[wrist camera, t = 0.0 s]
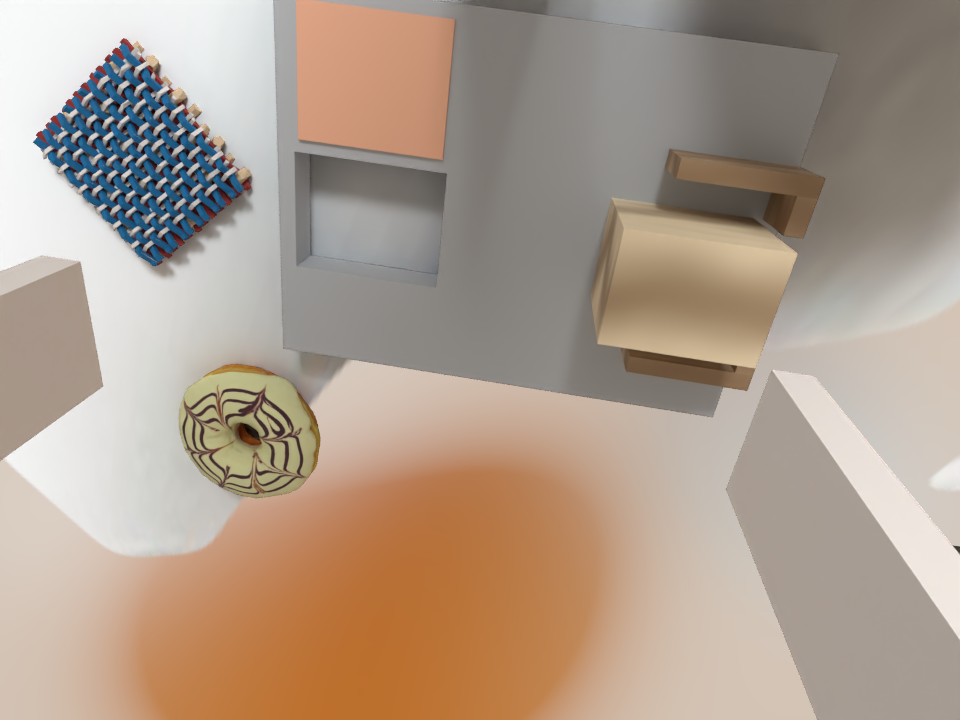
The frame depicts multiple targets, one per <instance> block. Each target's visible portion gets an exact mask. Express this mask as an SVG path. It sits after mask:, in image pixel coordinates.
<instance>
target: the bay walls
mask: <svg viewBox="0 0 960 720" xmlns="http://www.w3.org/2000/svg"><path fill="white" fill-rule="evenodd" d="M665 168H666V169H667V170H668V171H669V172H670V173H671V174H672V175H673V176H674V177H675V178H676V179H680V180H687V181H694V182H701V183H708V184H715V185H722V186H729V187H736V188H743V189H750V190H757V191H764V192H771V196H770V199H769V202H768V205H767V208H766V211H765V214H764V217H763V220H764V221H765V222H766V223H768V224H769V225H770V226H772V227H773V228H774V229H775V230H777V231H778V232H779V233H781V234H782V235H783V236H789V237H796V238H804V235H805V233H806V230H807V227H808V224H809V222H810V219H811V216H812V214H813V211H814V208H815V205H816V203H817V200H818V197H819V195H820V192H821V189H822V187H823V184H824V181H825V178H823V177H821V176H818V175H816V174H814V173H812V172H809V171H807V170H805V169H803V168H800V167H795V166H788V165H781V164H774V163H767V162H759V161H752V160H745V159H738V158H731V157H724V156H717V155H710V154H703V153H696V152H689V151H682V150H674V149H669V153H668V157H667V161H666V165H665ZM620 348H621V347H620ZM621 352H622V357H623V361H624V366H625V370H626V372H631V373H638V374H644V375H650V376H657V377H663V378H669V379H676V380H682V381H688V382H695V383H701V384H707V385H714V386H720V387H727V388H733V389H739V390H745V391H747V389H748V387H749V384H750V381H751V379H752V376H753V373H754V371H755V368H749V367H743V366H736V365H730V364H724V363H717V362H711V361H704V360H698V359H692V358H685V357H679V356H672V355H666V354H660V353H653V352H647V351H640V350H634V349H628V348H621Z"/></svg>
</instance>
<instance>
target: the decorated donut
mask: <svg viewBox="0 0 960 720" xmlns="http://www.w3.org/2000/svg"><path fill="white" fill-rule="evenodd" d="M243 423H245V424H248V425H250V426H252V427H253V428H254V429H256V430H257V431H258V433H259V437H260V439H257V438H254V437H252V436H251V435H250V434H248V433H247V431H246V430H245V427H244V425H243ZM179 429H180V435H181V438H182V442H183V446H184V448H185V451H186V452H187V453H188V455H189V456H190V458H191V460H192V461H193V462H194V464H195V465H196V466H197V467H198V469H199V470H200V472H201V473H202V474H203V475H204V476H206V477H207V478H208V479H209V480H210V481H212V482H214V483H216V484H217V485H219V486H220V487H222V488H224V489H225V490H228V491H231V492H233V493H236V494H238V495H241V496H247V497H254V498H263V497H270V496H275V495H282V494H287V493H290V492H292V491H294V490H296V489H298V488H299V487H300V486H301V485H302V484H303V483H304V482H305V481H306V479H307V478H308V477H309V476H310V474H311V473H312V472H313V470H314V469H315V467H316V465H317V460H318V452H319V447H320V434H319V429H318V424H317V421H316V418H315V416H314V413H313V411H312V410H311V409H310V407H309V406H308V405H307V403H306V402H305V401H304V400H303V398H302V397H301V396H300V394H299V393H298V392H297V390H296V388H295V387H294V386H293V384H292V383H290V382H289V381H288V380H287V379H285V378H283V377H279V376H277V375H275V374H273V373H271V372H269V371H266V370H264V369H261V368H259V367H254V366H247V365H240V364H231V365H226V366H223V367H221V368H219V369H217V370H215V371H213V372H210V373H209V374H207V375H206V376H204V377H203V378H202V379H200V380H199V381H197V382H196V383H195V384H193V385H191V386H189V387H188V388H187V390H186V392H185V395H184V398H183V401H182V403H181V406H180V411H179Z"/></svg>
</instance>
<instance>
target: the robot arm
mask: <svg viewBox="0 0 960 720" xmlns="http://www.w3.org/2000/svg"><path fill="white" fill-rule="evenodd" d="M101 387H103V382H102V377H101V371H100V366H99V360H98V355H97V350H96V344H95V339H94V333H93V328H92V322H91V317H90V312H89V306H88V301H87V295H86V290H85V284H84V279H83V274H82V268H81V263H80V261H73V260H67V259H60V258H54V257H48V256H40V257H37V258H35V259H32V260H29V261H27V262H24V263H22V264H19V265H16V266H14V267H11V268H9V269H6V270H3V271H1V272H0V461H1V460H2V459H3V458H5V457H6V456H8V455H9V454H10V453H12V452H13V451H14V450H16V449H17V448H19V447H20V446H21V445H23V444H24V443H26V442H27V441H28V440H30V439H31V438H32V437H34V436H35V435H37V434H38V433H39V432H41V431H42V430H43V429H45V428H46V427H48V426H49V425H50V424H52V423H53V422H55V421H56V420H57V419H59V418H60V417H61V416H63V415H64V414H66V413H67V412H68V411H70V410H71V409H72V408H74V407H75V406H77V405H78V404H79V403H81V402H82V401H83V400H85V399H86V398H88V397H89V396H90V395H92V394H93V393H95V392H96V391H97V390H99V389H100V388H101ZM726 491H727V493H728V496H729V498H730V500H731V503H732V505H733V508H734V511H735V513H736V516H737V518H738V521H739V523H740V526H741V528H742V531H743V533H744V536H745V539H746V541H747V544H748V546H749V548H750V551H751V554H752V556H753V559H754V561H755V564H756V566H757V569H758V571H759V574H760V576H761V579H762V581H763V584H764V586H765V589H766V591H767V594H768V596H769V599H770V602H771V604H772V607H773V609H774V612H775V614H776V617H777V619H778V622H779V624H780V627H781V629H782V632H783V634H784V637H785V639H786V642H787V645H788V647H789V650H790V652H791V655H792V657H793V660H794V662H795V665H796V667H797V670H798V672H799V675H800V677H801V680H802V682H803V685H804V687H805V690H806V693H807V695H808V698H809V700H810V703H811V705H812V708H813V710H814V713H815V715H816V718H817V720H960V547H959V546H953V545H952V544H951V543H950V542H949V541H948V539H947V538H946V537H945V536H944V535H943V533H942V532H941V531H940V530H939V528H938V527H937V526H936V525H935V524H934V522H933V521H932V520H931V519H930V517H929V516H928V515H927V514H926V512H925V511H924V510H923V509H922V508H921V506H920V505H919V504H918V503H917V502H916V500H915V499H914V498H913V497H912V495H911V494H910V493H909V492H908V490H907V489H906V488H905V487H904V486H903V484H902V483H901V482H900V481H899V479H898V478H897V477H896V476H895V475H894V473H893V472H892V471H891V470H890V468H889V467H888V466H887V465H886V464H885V462H884V461H883V460H882V459H881V457H880V456H879V455H878V454H877V452H876V451H875V450H874V449H873V448H872V446H871V445H870V444H869V443H868V442H867V440H866V439H865V438H864V436H863V435H862V434H861V433H860V432H859V430H858V429H857V428H856V427H855V426H854V424H853V423H852V422H851V421H850V419H849V418H848V417H847V416H846V414H845V413H844V412H843V411H842V409H841V408H840V407H839V406H838V405H837V403H836V402H835V401H834V400H833V398H832V397H831V396H830V395H829V394H828V392H827V391H826V390H825V389H824V387H823V386H822V385H821V384H820V383H819V381H818V380H817V379H816V378H815V377H814V376H810V375H803V374H797V373H790V372H784V371H777V370H772V371H771V373H770V376H769V378H768V381H767V383H766V386H765V389H764V391H763V394H762V396H761V399H760V402H759V404H758V408H757V409H756V412H755V415H754V417H753V420H752V423H751V425H750V428H749V430H748V433H747V436H746V438H745V441H744V444H743V446H742V449H741V451H740V454H739V456H738V459H737V462H736V464H735V467H734V470H733V472H732V475H731V477H730V480H729V482H728V485H727V488H726Z"/></svg>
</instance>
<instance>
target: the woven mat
mask: <svg viewBox="0 0 960 720" xmlns="http://www.w3.org/2000/svg"><path fill="white" fill-rule="evenodd" d="M120 43H121V44H122V45H121V46H120V47H119V48H120V49H119V48H115V49H114V50H113V51H112V52H113V55H112V56H111V55H108V56H107V57H106V58H105V61H106V62H105V63H104V64H103V67H104V68H103V67H102V66H98V67H97V68H96V72H95V73H94V74H93V73H91V74H90V76H89V77H90V78H91V79H90V80H89V81H88V82H87V83H83V84H82V85H81V86H80V87H81V88H80V89H79V90H78V91H75V92H74V94H73V96H74V97H73V98H72V99H68V100H67V101H66V105H65V106H64V107H63V109H62V112H63V114H62V113H59V114H58V115H57V116H53V117H52V118H51V121H52V122H51V123H49V122H48V123H47V124H46V127H47V129H48V130H47V129H44V130H43V131H40V132H38V133H37V134H36V136H37V138H36V139H35V141H34V142H33V143H35V144H36V145H37V146H38V147H40V148H41V151H42V152H43V159H46V158H47V156H48V159H49V160H50V162H51V164H52V165H56V166H58V167H60V169H59V171H58V173H59V174H63V172H65V174H66V176H67V178H68V181H69V182H70V184H69V187H70V188H72V187H74V186H76V187H78V188H79V190H78V192H77V194H79V195H81V194H82V192H83V197H84V198H85V200H86V201H87V202H88V203H89V202H90V203H92V204H94V205H96V206H94V207H95V209H96V212H97V214H98V215H99V214H100V212H101V214H102V217H103V219H104V220H105V221H106V222H107V221H108V222H109V223H111V224H113V227H112V228H113V230H114V231H115V229H116V228H117V230H118V232H119V234H120V236H121V238H122V239H124V241H125V242H129V243H130V244H131V249H132V250H133V249H134V248H135V252H136V253H137V256H138V257H139V256H140V257H141V258H143V259H145V260H146V261H148V262H150V264H151V265H152V266H156V265H160V264H161V263H162V261H161V260H162V259H163V258H164V257H163V256H162V255H164V256H165V257H167V258H170V257H171V256H172V255H171V254H170V253H171V252H172V251H173V252H174V251H176V250H177V249H178V248H177V246H178V245H179V246H181V245H183V244H184V243H185V242H184V241H183V240H186V239H189V238H190V237H192V236H193V235H192V233H193V232H194V230H193V229H192V228H193V227H194V229H195V232H200V231H201V230H202V228H201V226H204V225H206V224H207V223H208V222H207V220H208V219H209V218H211V219H213V218H214V217H215V216H216V213H218V212H220V211H222V210H223V209H224V207H223V206H224V205H225V204H226V205H230V204H231V203H232V200H231V199H230V198H229V196H230V197H231V198H237V197H238V196H240V195H241V193H240V192H241V191H242V190H243V187H244V190H249V189H250V188H251V185H250V183H249V181H248V180H247V178H249V177H250V176H251V173H250V172H249V170H248V169H247V168H245V167H243V168H242V169H241V170H239V169H238V168H236V167H235V166H233V165H232V163H233V161H234V160H235V158H234V157H233V156H232V155H231V154H230V153H229V154H228V155H227V156H224V154H223V152H222V151H220V150H221V148H222V147H223V146H224V143H225V141H224V140H223V139H222V138H221V137H214V138H213V140H212V141H211V140H210V139H209V138H208V137H207V135H209V131H210V129H209V127H208V126H207V125H206V124H204V125H200V126H199V125H198V124H197V122H196V121H195V120H196V119H195V118H196V117H197V116H198V115H199V114H200V113H201V110H200V109H199V108H198V107H197V106H196V104H195V103H194V104H193V105H192V106H191V107H190V108H189V109H188V110H187V109H186V107H185V105H184V103H183V100H185V99H186V98H187V97H186V95H185V93H184V91H183V90H182V89H180V88H178V89H176V90H175V91H174V90H173V89H171V88H170V87H169V86H170V85H171V84H172V83H171V82H170V80H169V79H168V78H167V77H166V76H165V77H163V78H162V79H160V78H159V77H158V75H157V74H156V73H155V70H156V69H157V67H158V66H159V61H158V60H157V59H156V58H155V57H154V56H146V61H145V60H144V59H143V58H142V57H141V55H142V54H141V53H142V51H143V50H144V48H143V47H142V46H141V45H140V44H139V42H138V41H137V42H136V43H135V44H134V45H133V46H132V45H131V44H130V43H129V41H128V40H127V39H124V38H123V39H122V40H121V42H120ZM135 67H136V68H135ZM99 104H100V106H99ZM176 116H177V117H176ZM179 137H180V139H179ZM190 151H191V152H190ZM95 166H96V167H95ZM195 173H196V174H195ZM228 177H229V179H230V180H229V179H228ZM137 180H138V181H137ZM211 183H212V184H211ZM242 185H243V187H242ZM147 190H148V191H147ZM175 190H176V191H177V192H176V193H175ZM215 212H216V213H215ZM185 217H186V218H185ZM164 224H165V226H166V227H164ZM130 232H131V233H130ZM129 234H130V235H129Z"/></svg>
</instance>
